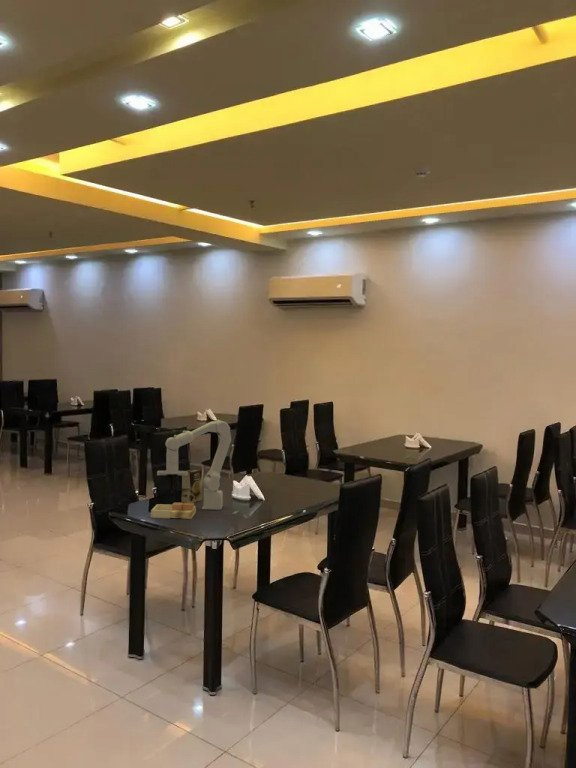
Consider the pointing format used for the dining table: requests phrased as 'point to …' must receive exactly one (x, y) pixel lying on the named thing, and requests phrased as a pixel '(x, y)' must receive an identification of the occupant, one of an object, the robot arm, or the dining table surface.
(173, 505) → the tile
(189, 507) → the tile
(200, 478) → the coffee box
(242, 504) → the dining table surface
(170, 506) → the tray
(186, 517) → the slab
